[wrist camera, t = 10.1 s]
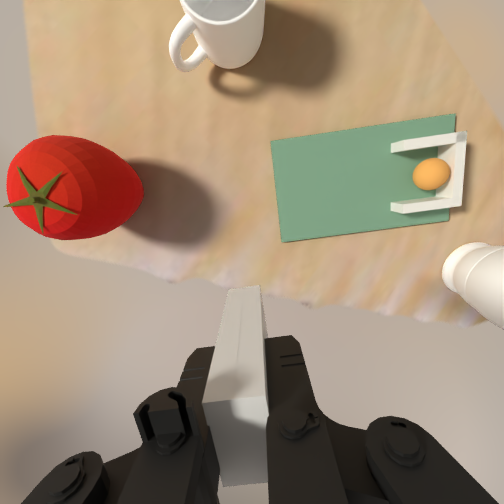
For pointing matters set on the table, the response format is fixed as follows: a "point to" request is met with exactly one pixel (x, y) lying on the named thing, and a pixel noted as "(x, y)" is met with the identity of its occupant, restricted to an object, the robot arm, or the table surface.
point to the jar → (478, 278)
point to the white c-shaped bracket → (451, 190)
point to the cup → (219, 32)
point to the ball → (431, 174)
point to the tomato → (72, 188)
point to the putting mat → (352, 179)
